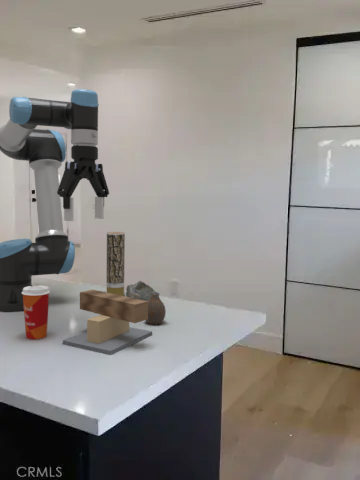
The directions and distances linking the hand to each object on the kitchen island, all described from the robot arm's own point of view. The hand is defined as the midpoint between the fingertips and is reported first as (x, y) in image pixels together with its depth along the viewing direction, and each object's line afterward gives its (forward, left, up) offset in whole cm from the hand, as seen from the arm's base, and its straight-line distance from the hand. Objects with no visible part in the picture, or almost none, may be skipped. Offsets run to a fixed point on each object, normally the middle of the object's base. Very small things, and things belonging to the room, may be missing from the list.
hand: (84, 219), depth 142 cm
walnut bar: (+12, -3, -26) cm, 29 cm away
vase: (+14, +17, -33) cm, 40 cm away
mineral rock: (+1, +30, -33) cm, 45 cm away
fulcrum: (+12, -4, -33) cm, 35 cm away
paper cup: (-7, -13, -33) cm, 36 cm away
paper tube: (-18, +40, -33) cm, 55 cm away
